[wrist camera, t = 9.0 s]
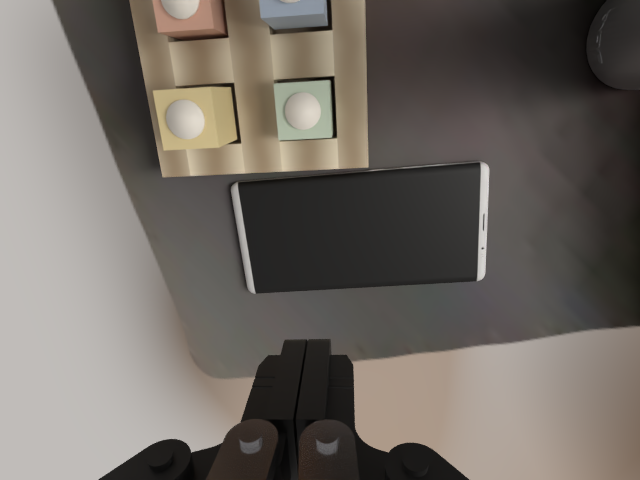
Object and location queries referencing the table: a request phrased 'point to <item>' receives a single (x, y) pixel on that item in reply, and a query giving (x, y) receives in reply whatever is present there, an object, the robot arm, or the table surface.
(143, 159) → the table surface
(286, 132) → the button
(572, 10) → the table surface
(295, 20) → the button
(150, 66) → the board
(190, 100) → the button
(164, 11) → the button
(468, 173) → the smartphone
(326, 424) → the robot arm
